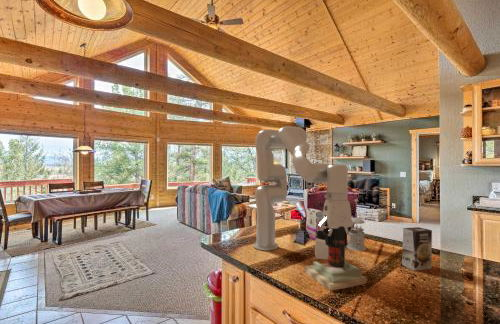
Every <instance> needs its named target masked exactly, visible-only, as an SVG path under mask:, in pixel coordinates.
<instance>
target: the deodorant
mask: <svg viewBox="0 0 500 324" xmlns="http://www.w3.org/2000/svg"><path fill="white" fill-rule="evenodd" d="M328 231H329V230H328ZM331 236H332V247H329V246H328V260H327V263H328V265H329V266H331V267H335V268H343V267H344V266H345V261H346V260H345V259H346V257H345V254H346V253H345V251H346V250H345V249H346V248H345V247H346V245H345V228H344V226H342V227H339V228H338V229H333V231H332V234H331Z"/></svg>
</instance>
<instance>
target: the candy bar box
mask: <svg viewBox="0 0 500 324" xmlns="http://www.w3.org/2000/svg"><path fill="white" fill-rule="evenodd" d="M322 220H323V210H319V209H315V208H306V222H305V223H306V225H305V226H306V230H307V232H308V234H309V237H310V238H309V237H308V238H309V239H311V240H313V241H315V239H317V231H319V230H321V229H320V228H319V227H318V225H319V224H320V223H321V221H322ZM306 230H305V231H306Z"/></svg>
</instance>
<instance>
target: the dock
mask: <svg viewBox="0 0 500 324" xmlns="http://www.w3.org/2000/svg"><path fill="white" fill-rule="evenodd" d="M303 270H304V272H305V274H307V275H309V277H311V278H312V279H314V280H315V281H316V282H318V283H319V284H321V285H322V286H323V287H324V288H325V289H326V290H328V291H330V292H331V291H335V290H340V289H341V290H342V289H346V288H351V287H356V286H361V285H362V286H363V285H367V284H368V278H367V277H366V276H364V275H362V269H361V268H359V267H357V266H355V265H353V264H352V263H350V262H348V261H346V260H345V266H344V267H343V268H335V267H331V266H329V265H328V262H327V263H326V262H325V263H320V262H318V261H316V260H315V261H313V263H312V265H305V266H304V268H303ZM366 283H367V284H366Z"/></svg>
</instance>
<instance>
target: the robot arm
mask: <svg viewBox="0 0 500 324" xmlns="http://www.w3.org/2000/svg"><path fill="white" fill-rule="evenodd" d="M307 141H308V134H307V132H306V130H305V129H304V128H302V127H299V126H291V125H290V126H289V125H285V126H282V127H280V129H270V128H266V129H262V130H260V131H258V133H257V134H256V136H255V141H254V144H255V145H254V146H255V150H256V158H257V159H256V163H257V165H256V167H257V170H256V171H257V172H256V173H257V179H258V181H259V182H261V183H273V184H264V185H259V186H258V187H256V189H255V192H254V197H255V204H256V234H255V235H256V236H255V237H256V238H255V240H256V241H255V242H254V243H253V248H254V249H255V250H259V251H266V252H267V251H274V250H276V249H278V247H279V244H278V243H276V211H275V208H274V206H273V204H278V203H283V202H284V201H285V200H286V199H287V196H288V182H287V179H288V177H287V170H286V168H285V167H284V165H282V164H277V163H275V161H274V159H275V158H274V153H273V151H272V150H271V148H270V147H273V148H274V147H275V148H276V147H277V148H286V150H287V151H288V153H290V154H291V156H292V164H293V165H292V166H293V168H294V170H295V171H296V173H297V174H298V175H299V177H301V178H302V180H304V181H305V182H307V183H326V191H325V192H326V194H324V195H323V197H324V199H325V201H324V205H323V209H322V211H323V220H322V221H321V223H320V224H319V225H318V227H319V228H320V229H321V230H322V231H323V232H324V234H325V243H326V245H327V246H329V247H332V236H331V234H332V231H333V229H338V228H339V227H342V226H344V228H345V246H346V245H348V235H350V234H349V231H350V229H351V227H354V224H355V223H353V222H352V220H351V218H352V208H351V203H350V201H349V200H348V190H349V188H348V183H349V181H348V179H349V175H348V174H349V173H348V169H349V168H348V166H347V164H340V163H339V164H328V163H312V162H311V161H310V160H309V158H307V154H308V153H309V151H310V144H309V143H308V142H307ZM328 230H329V231H328Z"/></svg>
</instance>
